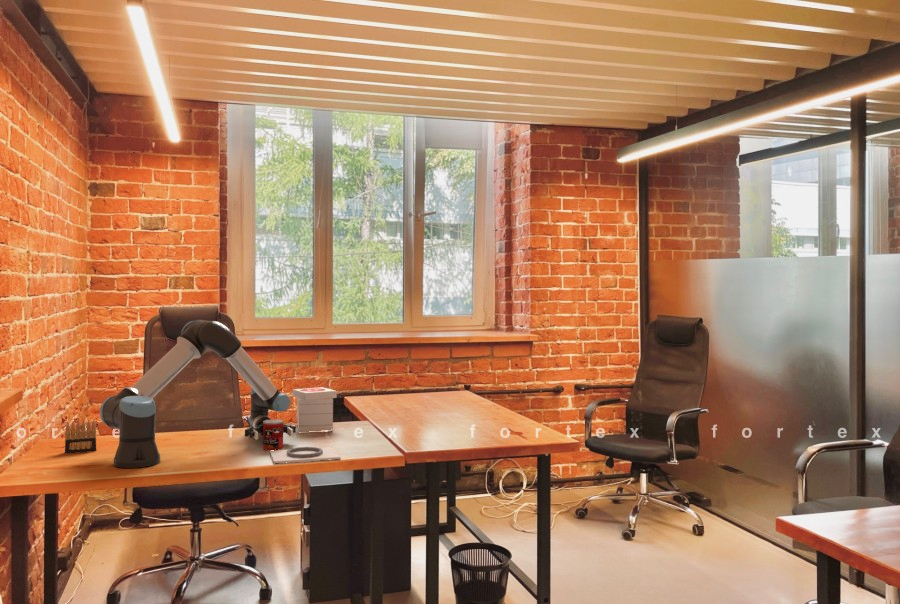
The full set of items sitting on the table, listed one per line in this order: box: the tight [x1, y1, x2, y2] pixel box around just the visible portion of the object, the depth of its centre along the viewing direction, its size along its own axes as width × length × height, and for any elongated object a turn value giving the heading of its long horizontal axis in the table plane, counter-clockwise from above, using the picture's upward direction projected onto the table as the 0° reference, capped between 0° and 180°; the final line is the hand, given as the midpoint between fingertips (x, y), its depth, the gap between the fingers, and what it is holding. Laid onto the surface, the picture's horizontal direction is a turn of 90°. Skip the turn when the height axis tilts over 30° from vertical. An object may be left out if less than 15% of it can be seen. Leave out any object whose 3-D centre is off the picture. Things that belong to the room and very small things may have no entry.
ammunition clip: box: [64, 419, 97, 454], centre depth 262 cm, size 11×2×12 cm, turn 118°
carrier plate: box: [269, 446, 342, 465], centre depth 258 cm, size 24×18×2 cm
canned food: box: [262, 418, 284, 451], centre depth 271 cm, size 8×8×11 cm
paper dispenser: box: [292, 387, 338, 433], centre depth 317 cm, size 19×30×18 cm, turn 15°
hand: (274, 434), depth 270 cm, fingers open, 13 cm apart
